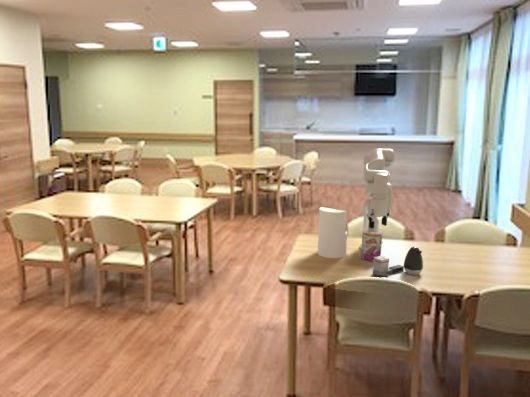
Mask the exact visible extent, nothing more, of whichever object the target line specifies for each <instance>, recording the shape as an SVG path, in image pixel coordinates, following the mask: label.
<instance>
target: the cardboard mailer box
mask: <svg viewBox="0 0 530 397" xmlns="http://www.w3.org/2000/svg"><path fill="white" fill-rule="evenodd" d="M372 263H373V264H372V267H373V268H372V271H373V270H375V271H378V272H380V273H382V272H386V271H388V268H389V263H390V258H389V257H386V256H383V255H381V256H377V257H374V261H373V262H372Z"/></svg>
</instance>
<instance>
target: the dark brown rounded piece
mask: <svg viewBox="0 0 530 397" xmlns="http://www.w3.org/2000/svg"><path fill="white" fill-rule="evenodd" d="M422 253H423V251H422V250H420V248H419V247H417V246H412V247H410V248H409V250H407V253H406V256H405V258H404V261H403V266H404V271H405V272H406V274H408V275H411V276H417V275H420V274H421V273H422V271H423V269H424V260H423V254H422Z"/></svg>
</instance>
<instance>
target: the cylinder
mask: <svg viewBox="0 0 530 397" xmlns="http://www.w3.org/2000/svg"><path fill="white" fill-rule="evenodd" d="M318 210H319V211H318V230H317V231H318V234H317V237H318V238H317V240H318V241H317V254H318V255H319V256H320V257H323V258H327V259H340V258H341V259H342V258H344V257H346V256H347V247H348V246H347V242H348V231H347V213H348V211H347V210H343V209H342V210H341V209H335V208H330V207H324V206H321V207H319V209H318Z"/></svg>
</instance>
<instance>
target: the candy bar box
mask: <svg viewBox="0 0 530 397" xmlns="http://www.w3.org/2000/svg"><path fill="white" fill-rule="evenodd" d="M382 242H383V232H378V233H377V232H369V231H364V232H363V231H362V238H361V244H362V249H361V252H360V260H366V261H372V262H374V257H377V256H382V246H383V245H382V244H383V243H382Z"/></svg>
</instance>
